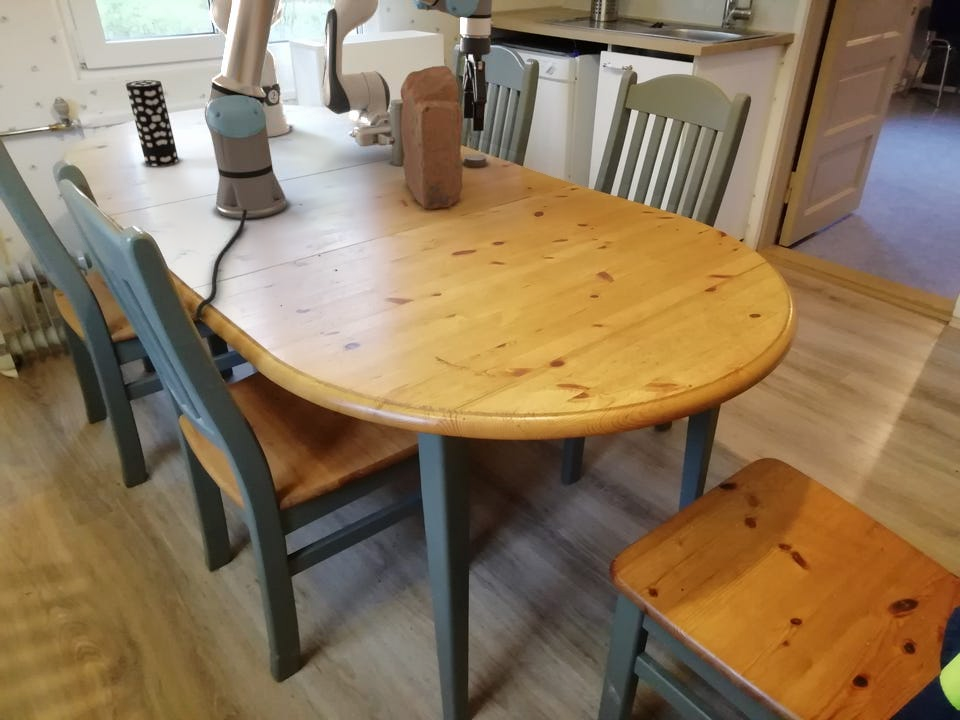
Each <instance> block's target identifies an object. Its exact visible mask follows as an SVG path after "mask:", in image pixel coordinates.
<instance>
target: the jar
mask: <svg viewBox="0 0 960 720" xmlns="http://www.w3.org/2000/svg"><path fill="white" fill-rule="evenodd" d="M402 108H403V101H402V98H401V99H400V98H399V99H398V98H397V99H392V100H390V106H389V112H390V125H391V137H393V139H394V141H393V142H394V144H392V145H391V157H392V165H394V166H397V167H404V163H403V160H404V157H405V154H404V151H403V144H402V131H401V124H402Z"/></svg>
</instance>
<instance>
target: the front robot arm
mask: <svg viewBox="0 0 960 720" xmlns="http://www.w3.org/2000/svg"><path fill="white" fill-rule="evenodd" d="M412 3H413V5H414V7H415V8H416V9H417V10H423V11H426V12H427V11H438V12H441V13H445V14H448V15H450V16H453V17H454V18H457V19H460V32H459V33H460V35H461V37H460V42H459V43H460V44H459V45H460V46H459V49H460V53H461V54H462V55H464V56H465V58H464V61H465V62H464V69H463V79H462V89H463V119H472V131H473V132H485V131H484V130H485V105H486V104H487V103H488V99H487V82H486V80H487V79H486V61H485V60H483V56H488V55H489V54H490V53H491V43H492V41H491V38H490V37H489V36H491V35H492V34H491V32H492V26H494V22H493V21H492V7H493V0H412ZM275 5H276V0H233V4H232V10H231V16H230V22H229V28H228V34H227V39H226V41H225V46H224V47H225V48H224V53H223V60H222V65H221V72H220V74H218V75H216V76H215V77H213V78H212V80H211V85H210V86H211V87H210V93H209V98H208V100H207V103H205V106H204V107H205V108H204V119H205V120H204V121H205V123H206V125H207V127H208V128H207V129H208V131H209V133H210V136H211V142H212V147H213V151H214V156H215V161H216V167H217V169H218V170H217V172H218V185H217V193H216V201H215V206H216V210H217V213H218V214H219V215H221V216H223V217H225V218H229V219H236V220H240V223H239V226H238V228H237V231H236V232H235V233H234V234H233V236H232V237H231V238H230V240H229V241H228V243H226V245H225V246H224V247H223V248H222V249H221V251H220V252H219V254H218V255H217V258H216V259H215V262H214V265H213V270H212V276H211V291H210V294H209V296H208V297H207V298H206V299H204V300H202V301H201V302H200V303H198V305H197V308H196V310H195V319H197V320H198V319H200V318H201V314H202V311H203V309H204V307H205V306H206V305H208V304H210V303H211V302H212V301H214V299H215V297H216V294H217V280H218V279H217V278H218V272H219V267H220V264H221V261H222V260H223V257H224V256H225V254H226V253H227V252H228V251H229V249H230V248H231V247H232V246H233V244H234V243H235V241H236V240H237V239H238V237H239V236H240V235H241V233H242V231H243V229H244V226H245V222H246V221H245V220H253V219H260V218H261V219H262V218H265V217H266V218H267V217H270V216H274V215H276V214H278V213H280V212H282V211H283V210H285V209H286V207H287V199H286V194H285V193H284V191H283V189H282V187H281V184H280V182H279V180H278V179H277V177H276V175H275V172H274V167H273V160H272V154H271V148H270V142H269V141H270V140H269V137H268V134H267V128H266V115H265V112H264V110H263V106H264V100H265V93H264V91H263V90H262V88H261V85H260V84H261V79H262V73H263V68H264V63H265V58H266V52H267V49H268V46H269V41H270V36H271V32H272V31H271V30H272V27H273V26H272V21H273V15H274V10H275ZM271 26H272V27H271Z"/></svg>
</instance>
